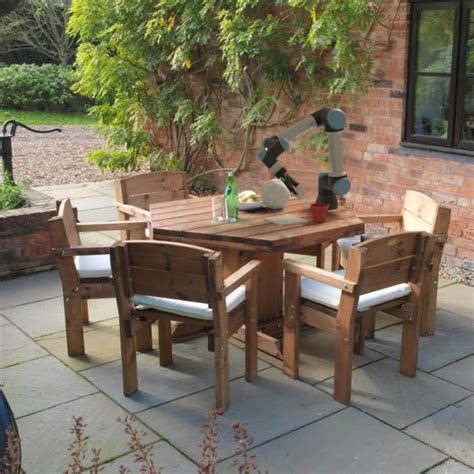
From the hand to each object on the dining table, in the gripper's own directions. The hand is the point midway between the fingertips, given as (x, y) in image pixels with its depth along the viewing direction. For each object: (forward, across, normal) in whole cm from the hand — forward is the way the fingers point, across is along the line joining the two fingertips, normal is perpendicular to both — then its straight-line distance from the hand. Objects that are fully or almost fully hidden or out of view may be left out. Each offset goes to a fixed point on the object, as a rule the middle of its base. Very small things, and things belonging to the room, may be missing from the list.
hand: (302, 196), depth 435 cm
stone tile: (+4, +6, -16) cm, 18 cm away
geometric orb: (-5, -27, -25) cm, 37 cm away
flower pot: (+18, 0, -3) cm, 18 cm away
